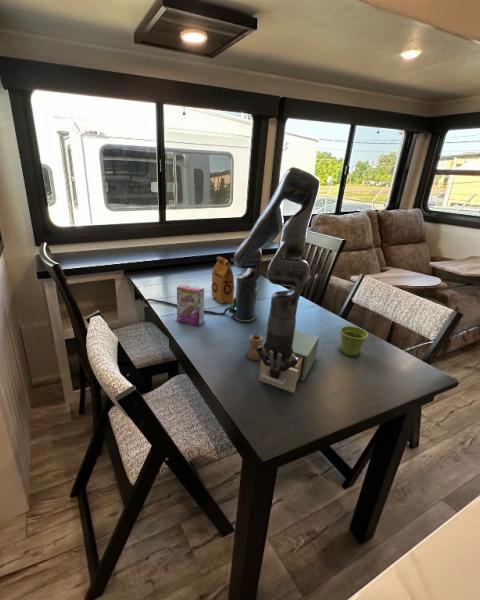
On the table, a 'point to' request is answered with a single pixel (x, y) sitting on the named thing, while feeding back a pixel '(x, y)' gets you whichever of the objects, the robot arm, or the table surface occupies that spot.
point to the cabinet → (305, 349)
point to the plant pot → (352, 339)
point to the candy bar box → (190, 304)
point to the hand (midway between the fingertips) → (274, 378)
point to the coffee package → (222, 281)
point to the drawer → (283, 375)
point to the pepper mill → (254, 346)
